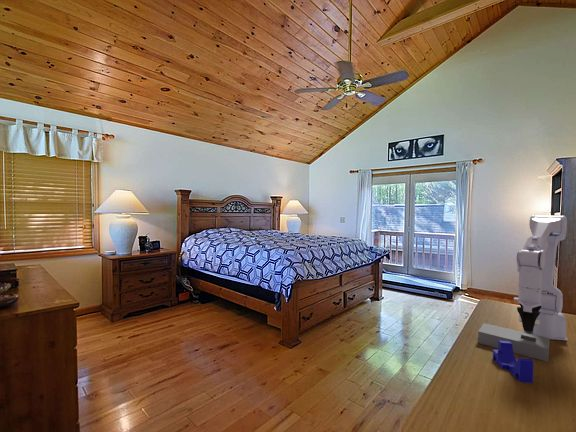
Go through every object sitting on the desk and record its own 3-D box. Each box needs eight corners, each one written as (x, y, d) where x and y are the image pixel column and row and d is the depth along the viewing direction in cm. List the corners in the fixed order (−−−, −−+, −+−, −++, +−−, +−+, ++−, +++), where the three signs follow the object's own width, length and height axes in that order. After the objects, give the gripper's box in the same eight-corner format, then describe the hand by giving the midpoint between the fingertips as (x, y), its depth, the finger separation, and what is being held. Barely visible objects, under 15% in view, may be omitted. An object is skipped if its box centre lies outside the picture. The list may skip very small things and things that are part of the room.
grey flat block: (549, 350, 95) (549, 338, 95) (548, 361, 88) (548, 348, 88) (483, 333, 107) (483, 323, 107) (478, 342, 100) (478, 331, 100)
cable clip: (492, 359, 90) (493, 339, 90) (509, 360, 89) (509, 341, 89) (513, 381, 78) (514, 359, 78) (532, 383, 77) (533, 361, 77)
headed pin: (532, 330, 97) (532, 315, 97) (543, 336, 92) (543, 321, 92) (514, 328, 98) (515, 314, 98) (524, 335, 93) (524, 319, 93)
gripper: (516, 280, 102) (515, 319, 103) (511, 289, 92) (510, 331, 92) (543, 284, 98) (542, 324, 98) (541, 293, 87) (539, 338, 87)
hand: (528, 328), depth 95 cm, fingers closed on headed pin, 5 cm apart
